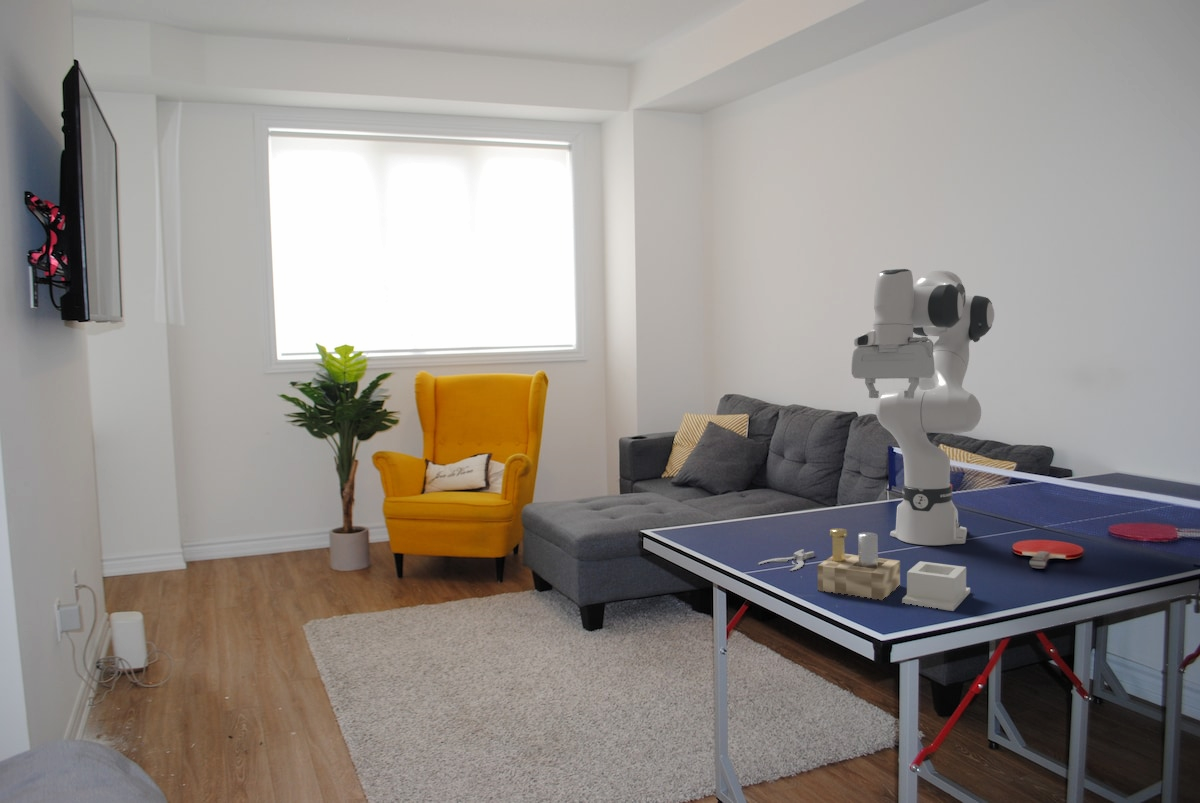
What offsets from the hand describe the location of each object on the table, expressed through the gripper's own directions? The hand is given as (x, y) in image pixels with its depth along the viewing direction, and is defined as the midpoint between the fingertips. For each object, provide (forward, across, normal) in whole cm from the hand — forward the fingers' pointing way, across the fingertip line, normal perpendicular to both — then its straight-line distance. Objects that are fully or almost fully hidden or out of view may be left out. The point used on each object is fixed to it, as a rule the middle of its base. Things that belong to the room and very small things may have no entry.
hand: (891, 398), depth 209 cm
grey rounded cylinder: (+42, -6, +15) cm, 45 cm away
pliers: (+40, +20, +10) cm, 46 cm away
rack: (+42, -19, +10) cm, 47 cm away
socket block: (+42, -4, +16) cm, 44 cm away
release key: (+38, 0, +17) cm, 41 cm away
